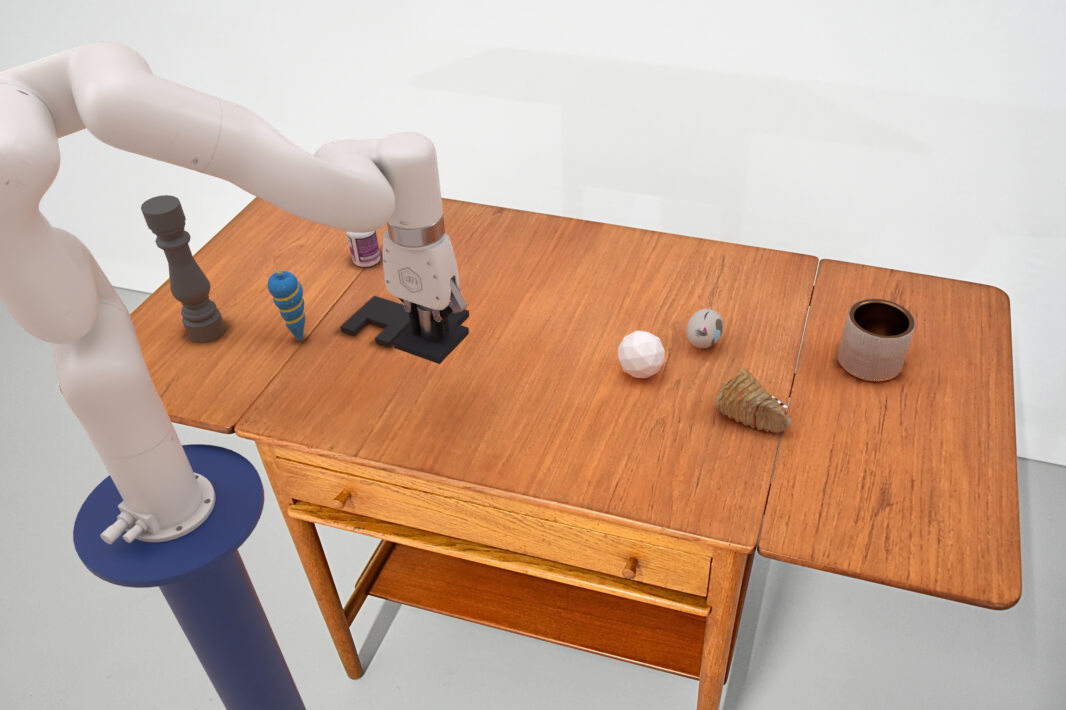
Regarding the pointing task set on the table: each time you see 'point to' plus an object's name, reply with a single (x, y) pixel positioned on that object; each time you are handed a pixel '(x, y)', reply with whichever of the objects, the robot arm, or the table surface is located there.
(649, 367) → the geometric ball
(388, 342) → the notch pad
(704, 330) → the figurine
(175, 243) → the candle holder
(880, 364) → the planter
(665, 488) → the table surface
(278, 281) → the ornament
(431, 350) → the tab pad
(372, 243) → the pill bottle
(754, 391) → the fossil
